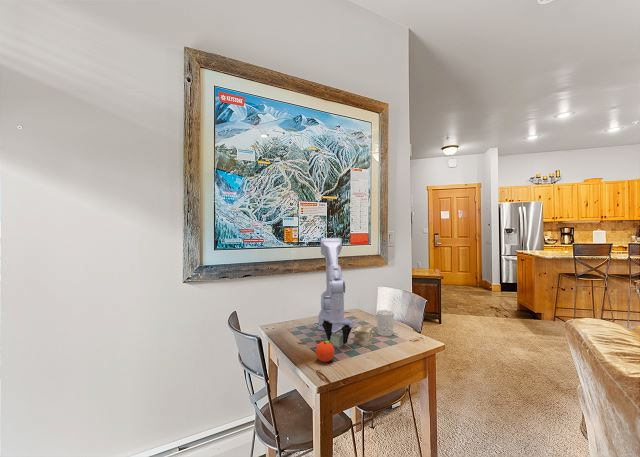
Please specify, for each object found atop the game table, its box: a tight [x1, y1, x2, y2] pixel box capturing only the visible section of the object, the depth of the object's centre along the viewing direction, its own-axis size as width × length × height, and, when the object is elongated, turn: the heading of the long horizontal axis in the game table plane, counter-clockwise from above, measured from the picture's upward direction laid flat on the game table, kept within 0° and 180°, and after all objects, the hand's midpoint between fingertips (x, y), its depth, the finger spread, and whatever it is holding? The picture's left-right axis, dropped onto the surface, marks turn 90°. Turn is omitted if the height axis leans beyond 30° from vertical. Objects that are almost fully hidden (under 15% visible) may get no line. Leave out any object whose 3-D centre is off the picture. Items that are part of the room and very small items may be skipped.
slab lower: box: [353, 334, 374, 347], centre depth 125 cm, size 6×6×3 cm
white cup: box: [375, 309, 395, 337], centre depth 135 cm, size 8×8×10 cm
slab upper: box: [354, 325, 373, 340], centre depth 125 cm, size 6×6×3 cm
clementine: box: [315, 340, 335, 363], centre depth 108 cm, size 8×7×7 cm
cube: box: [330, 332, 344, 348], centre depth 123 cm, size 4×4×4 cm
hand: (337, 341), depth 123 cm, fingers open, 7 cm apart
